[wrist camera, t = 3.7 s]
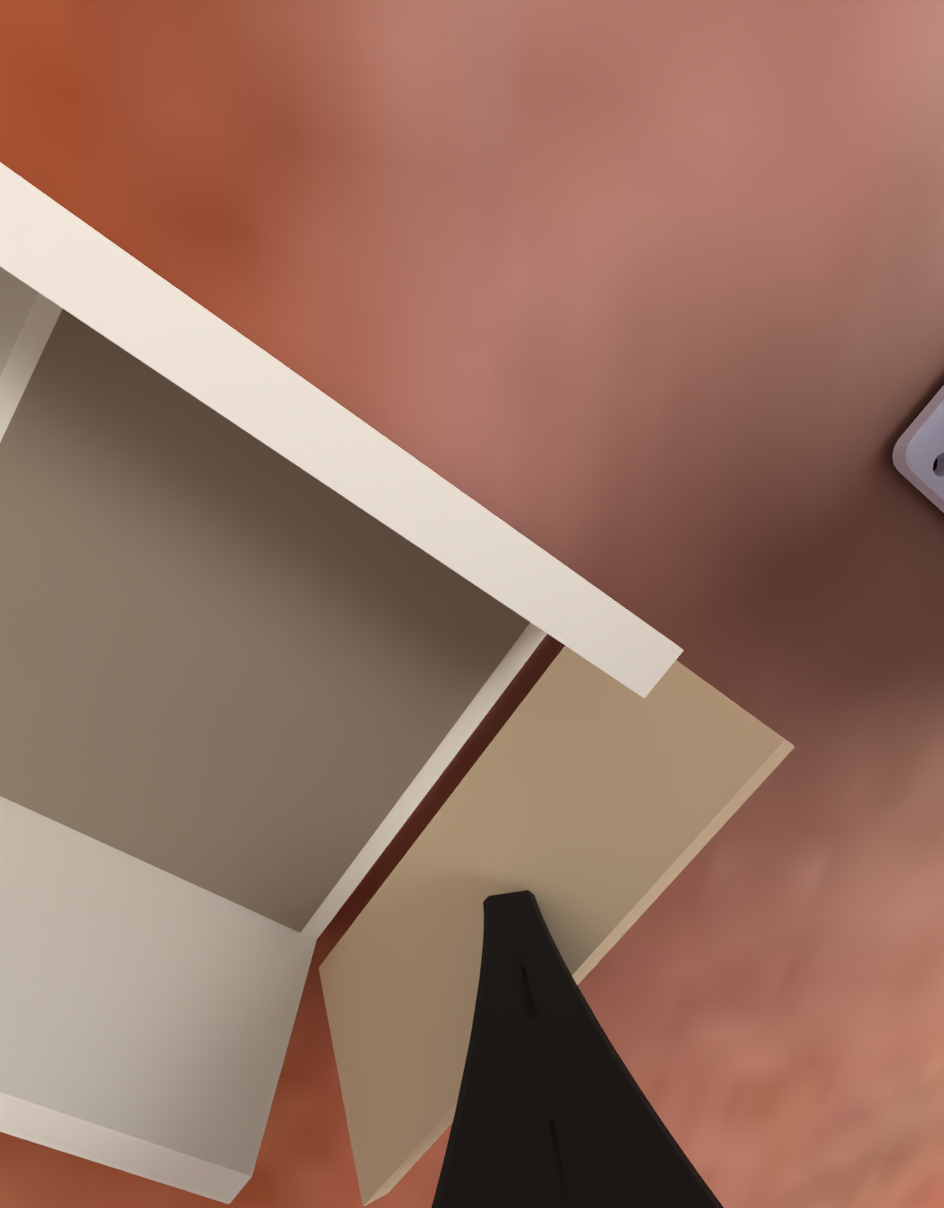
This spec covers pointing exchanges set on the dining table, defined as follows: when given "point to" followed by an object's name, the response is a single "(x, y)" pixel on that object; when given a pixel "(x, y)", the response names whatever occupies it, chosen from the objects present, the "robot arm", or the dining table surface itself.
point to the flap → (526, 879)
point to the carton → (212, 693)
